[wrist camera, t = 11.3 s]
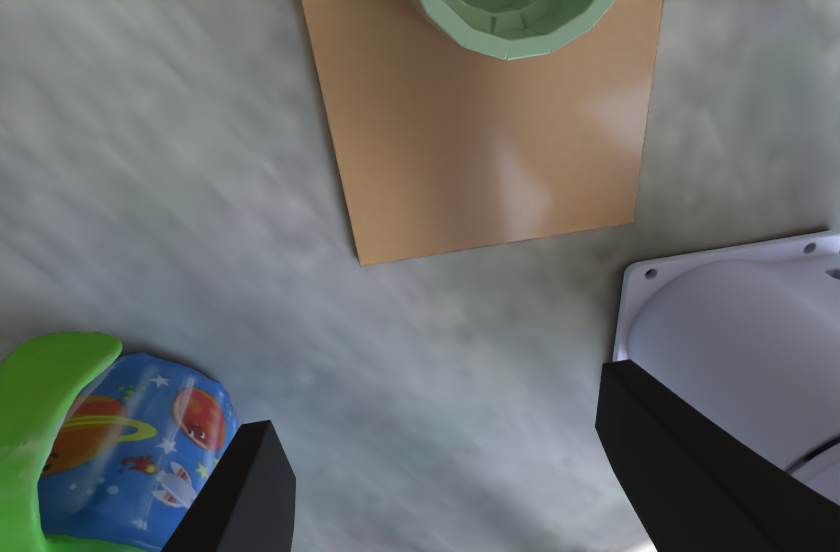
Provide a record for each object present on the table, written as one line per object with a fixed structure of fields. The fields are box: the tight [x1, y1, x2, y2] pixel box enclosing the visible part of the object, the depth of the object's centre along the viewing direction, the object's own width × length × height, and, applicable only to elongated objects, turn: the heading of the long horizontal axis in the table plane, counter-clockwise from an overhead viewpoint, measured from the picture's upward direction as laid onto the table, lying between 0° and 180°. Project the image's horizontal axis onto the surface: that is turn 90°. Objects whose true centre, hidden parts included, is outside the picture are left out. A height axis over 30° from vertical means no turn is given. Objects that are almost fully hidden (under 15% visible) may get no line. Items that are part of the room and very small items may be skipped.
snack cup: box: [0, 332, 238, 552], centre depth 17 cm, size 16×10×10 cm
